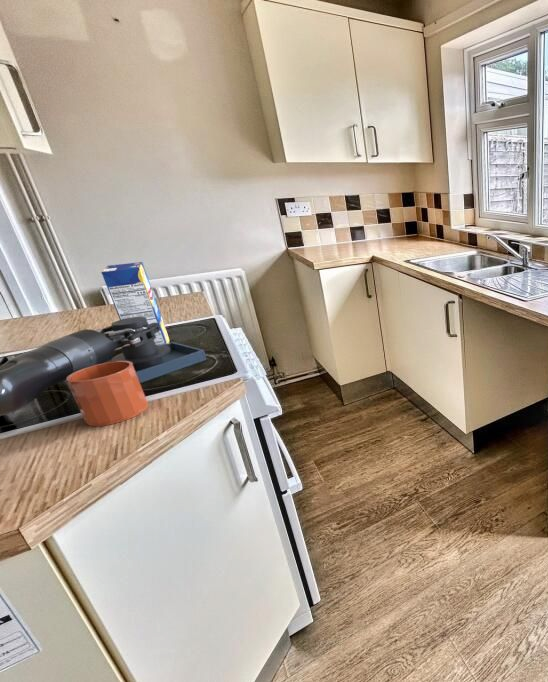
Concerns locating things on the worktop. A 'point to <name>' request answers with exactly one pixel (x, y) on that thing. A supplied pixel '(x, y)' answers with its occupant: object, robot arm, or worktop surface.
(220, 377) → the worktop surface
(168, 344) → the tray
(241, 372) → the worktop surface
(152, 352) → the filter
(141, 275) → the beverage box
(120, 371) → the cup
